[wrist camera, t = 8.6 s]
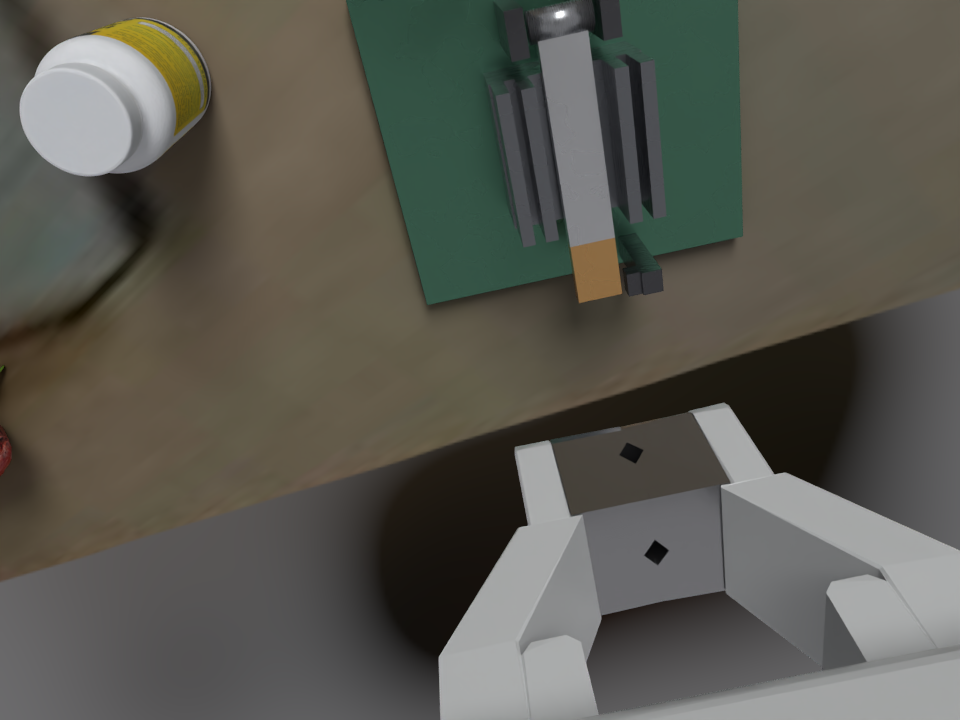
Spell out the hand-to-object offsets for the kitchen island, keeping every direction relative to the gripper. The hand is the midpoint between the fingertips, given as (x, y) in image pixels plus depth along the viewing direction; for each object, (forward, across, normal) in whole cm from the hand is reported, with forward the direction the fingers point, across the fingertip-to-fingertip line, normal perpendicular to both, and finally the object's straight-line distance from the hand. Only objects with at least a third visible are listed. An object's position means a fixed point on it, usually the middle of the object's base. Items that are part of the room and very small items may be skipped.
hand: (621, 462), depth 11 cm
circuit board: (+31, -4, +3) cm, 32 cm away
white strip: (+27, -4, +4) cm, 28 cm away
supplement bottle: (+31, +15, -3) cm, 35 cm away
